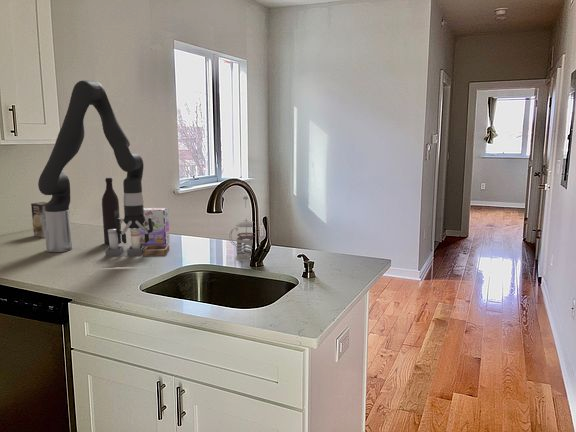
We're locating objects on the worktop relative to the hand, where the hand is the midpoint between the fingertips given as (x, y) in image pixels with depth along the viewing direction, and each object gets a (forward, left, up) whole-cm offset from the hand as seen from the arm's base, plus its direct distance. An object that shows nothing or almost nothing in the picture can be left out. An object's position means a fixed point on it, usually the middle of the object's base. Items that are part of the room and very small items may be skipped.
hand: (135, 242), depth 202 cm
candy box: (+4, +19, -5) cm, 20 cm away
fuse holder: (-4, 0, -5) cm, 7 cm away
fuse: (-9, 0, -4) cm, 9 cm away
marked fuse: (0, 0, -4) cm, 4 cm away
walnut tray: (+8, 0, -5) cm, 10 cm away
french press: (+44, -10, -5) cm, 45 cm away
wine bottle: (-14, +21, -5) cm, 26 cm away
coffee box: (-52, +45, -5) cm, 69 cm away
